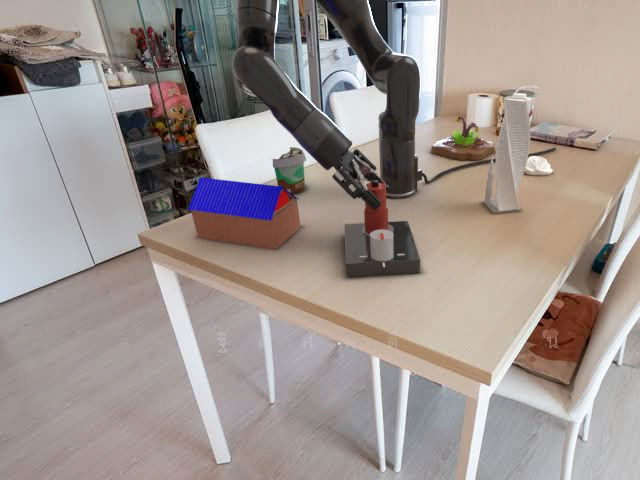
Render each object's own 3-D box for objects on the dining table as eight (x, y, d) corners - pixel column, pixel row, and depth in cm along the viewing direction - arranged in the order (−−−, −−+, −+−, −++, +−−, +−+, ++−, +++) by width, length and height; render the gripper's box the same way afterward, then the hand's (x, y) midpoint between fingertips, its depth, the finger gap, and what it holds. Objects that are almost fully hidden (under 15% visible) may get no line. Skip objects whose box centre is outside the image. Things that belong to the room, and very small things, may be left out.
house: (276, 249, 96) (266, 196, 90) (195, 237, 101) (181, 186, 95) (302, 226, 106) (296, 177, 99) (228, 216, 111) (217, 169, 104)
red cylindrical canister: (367, 223, 100) (365, 176, 94) (390, 225, 99) (389, 177, 93) (362, 233, 95) (360, 184, 90) (386, 235, 95) (385, 185, 89)
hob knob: (370, 251, 89) (369, 228, 86) (392, 249, 90) (392, 227, 87) (371, 262, 85) (370, 238, 83) (394, 260, 86) (394, 237, 83)
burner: (381, 220, 101) (381, 220, 101) (400, 231, 97) (400, 230, 97) (355, 228, 98) (355, 227, 98) (373, 239, 93) (373, 239, 93)
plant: (452, 140, 168) (454, 108, 162) (501, 149, 159) (505, 115, 153) (422, 153, 155) (423, 118, 149) (474, 163, 145) (477, 127, 139)
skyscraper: (513, 200, 119) (529, 82, 104) (527, 212, 113) (546, 88, 97) (482, 203, 118) (494, 83, 102) (494, 215, 111) (509, 89, 96)
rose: (534, 150, 142) (561, 156, 136) (532, 164, 145) (559, 171, 139) (514, 156, 137) (542, 163, 131) (512, 170, 139) (539, 178, 133)
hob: (345, 236, 102) (344, 223, 100) (407, 233, 103) (407, 220, 101) (346, 283, 85) (345, 268, 83) (421, 278, 86) (421, 264, 85)
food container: (299, 198, 121) (294, 160, 115) (277, 197, 122) (271, 159, 116) (315, 183, 131) (312, 147, 125) (295, 181, 132) (290, 146, 126)
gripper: (323, 135, 81) (389, 200, 86) (343, 117, 92) (400, 175, 97) (298, 163, 84) (362, 224, 89) (321, 143, 96) (376, 198, 101)
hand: (382, 198), depth 93 cm, fingers open, 8 cm apart
